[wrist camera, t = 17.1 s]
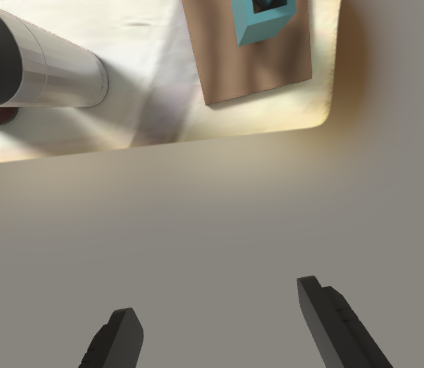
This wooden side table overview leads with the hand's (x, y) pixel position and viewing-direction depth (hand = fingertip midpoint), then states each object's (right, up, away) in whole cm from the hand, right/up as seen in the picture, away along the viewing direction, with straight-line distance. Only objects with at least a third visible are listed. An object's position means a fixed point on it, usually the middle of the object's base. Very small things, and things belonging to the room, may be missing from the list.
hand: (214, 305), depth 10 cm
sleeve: (+6, +28, +18) cm, 34 cm away
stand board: (+6, +30, +23) cm, 38 cm away
